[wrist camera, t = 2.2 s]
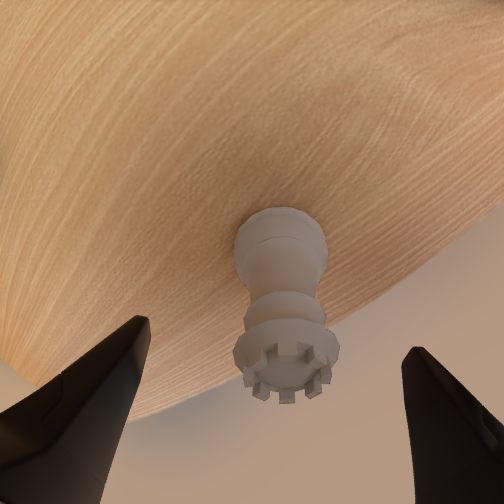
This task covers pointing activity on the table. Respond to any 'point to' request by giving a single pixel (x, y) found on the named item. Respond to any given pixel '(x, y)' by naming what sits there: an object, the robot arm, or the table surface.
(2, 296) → the table surface
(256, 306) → the rook chess piece
